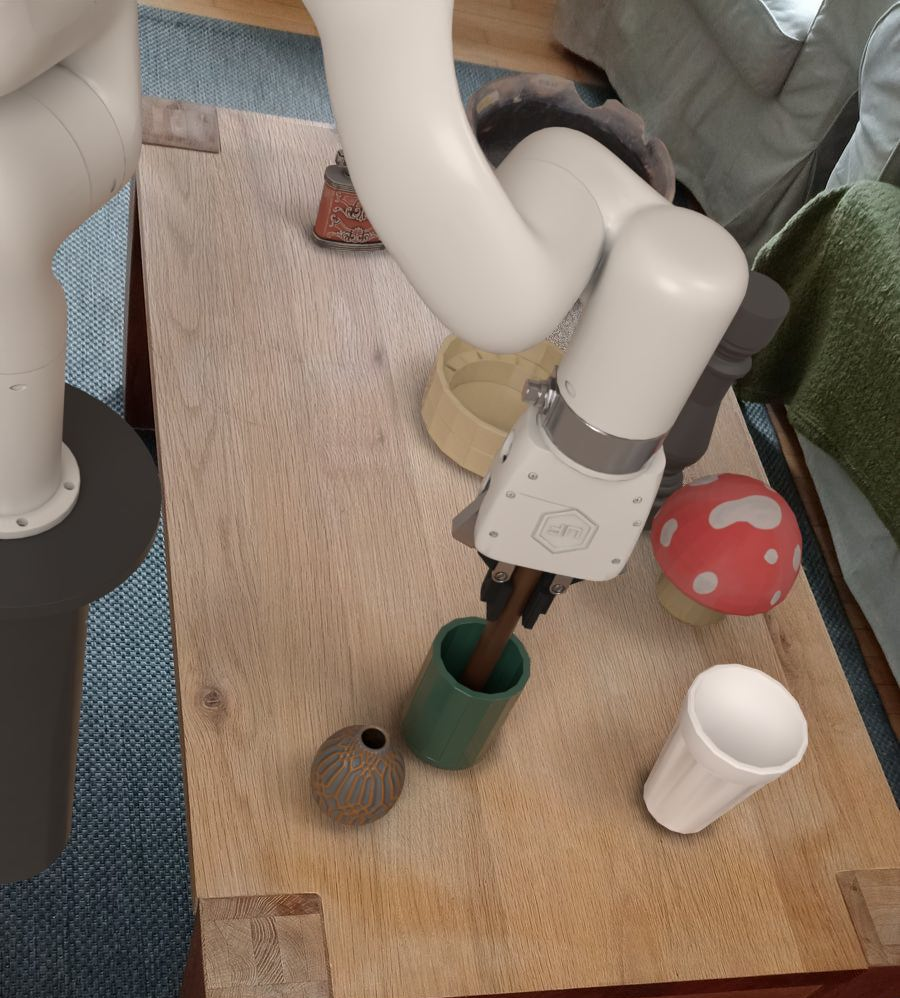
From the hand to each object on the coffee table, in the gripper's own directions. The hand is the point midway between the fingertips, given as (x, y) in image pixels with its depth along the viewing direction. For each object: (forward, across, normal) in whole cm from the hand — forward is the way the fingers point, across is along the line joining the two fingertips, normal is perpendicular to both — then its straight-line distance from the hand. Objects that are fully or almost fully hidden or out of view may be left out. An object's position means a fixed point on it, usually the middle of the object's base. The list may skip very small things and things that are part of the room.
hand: (509, 608), depth 92 cm
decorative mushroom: (+16, +22, +18) cm, 33 cm away
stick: (+13, 0, 0) cm, 13 cm away
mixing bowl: (+16, +4, +36) cm, 40 cm away
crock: (+16, 0, 0) cm, 16 cm away
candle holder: (+16, +18, +30) cm, 39 cm away
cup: (+16, +20, -3) cm, 26 cm away
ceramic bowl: (+16, +7, +61) cm, 64 cm away
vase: (+16, -8, -8) cm, 20 cm away
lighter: (+16, -12, +58) cm, 61 cm away
